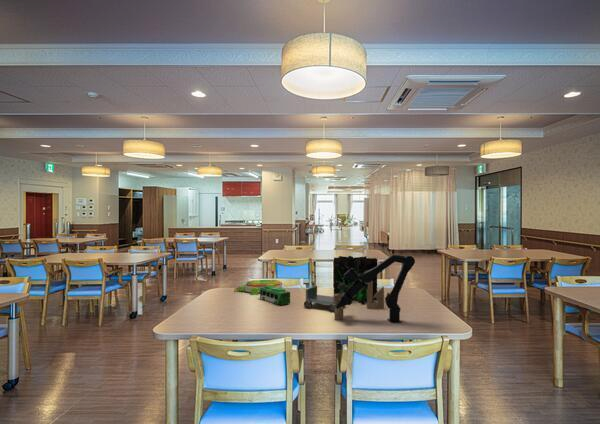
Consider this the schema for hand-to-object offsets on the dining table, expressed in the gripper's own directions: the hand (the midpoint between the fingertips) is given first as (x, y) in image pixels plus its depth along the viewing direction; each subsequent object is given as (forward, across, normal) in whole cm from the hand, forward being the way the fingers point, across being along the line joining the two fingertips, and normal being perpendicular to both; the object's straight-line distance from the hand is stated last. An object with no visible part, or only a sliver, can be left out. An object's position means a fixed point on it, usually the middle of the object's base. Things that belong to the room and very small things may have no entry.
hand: (336, 306), depth 211 cm
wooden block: (-12, -28, +22) cm, 37 cm away
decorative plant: (-2, -51, +13) cm, 52 cm away
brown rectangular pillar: (+4, 0, +6) cm, 7 cm away
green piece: (+50, -68, -39) cm, 93 cm away
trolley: (+11, -24, -1) cm, 27 cm away
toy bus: (+37, -35, -26) cm, 57 cm away
